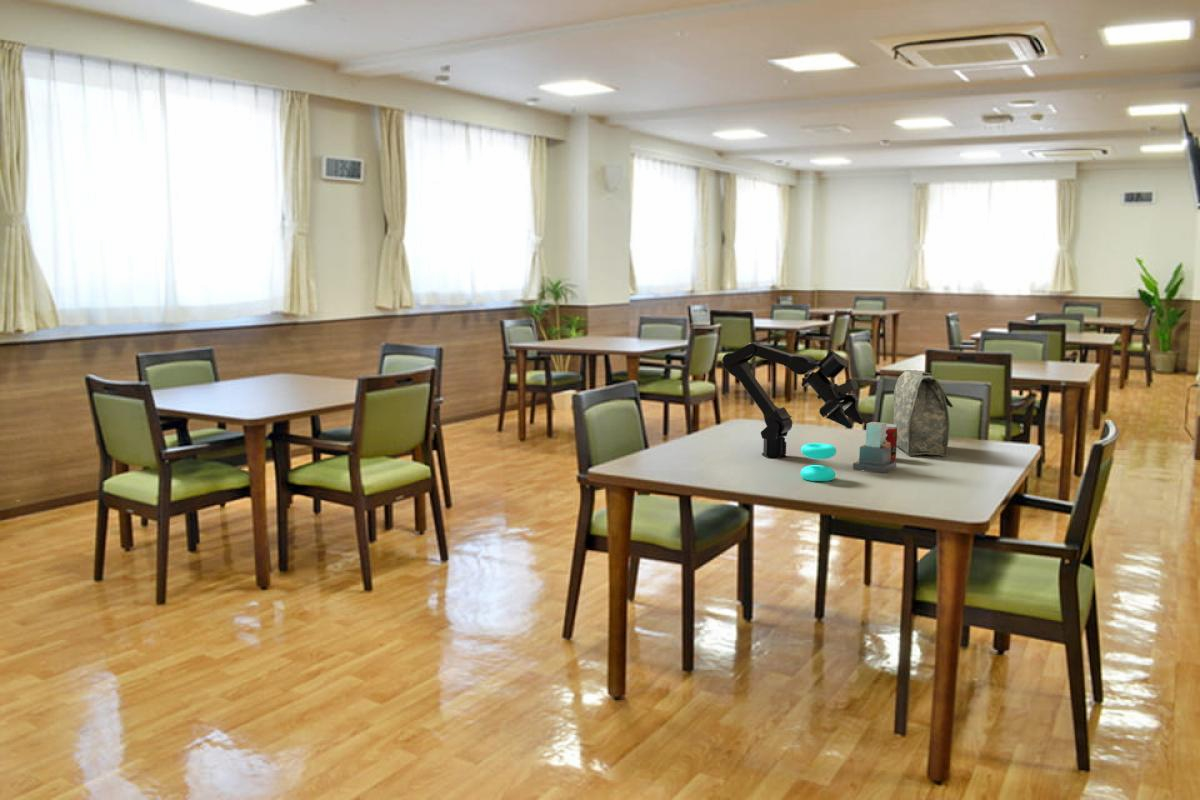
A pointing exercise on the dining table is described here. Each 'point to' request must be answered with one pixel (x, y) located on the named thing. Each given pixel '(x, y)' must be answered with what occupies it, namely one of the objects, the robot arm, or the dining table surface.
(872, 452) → the stand base
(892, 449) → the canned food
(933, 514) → the dining table surface
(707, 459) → the dining table surface
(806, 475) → the donuts
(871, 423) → the column
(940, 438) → the bag
